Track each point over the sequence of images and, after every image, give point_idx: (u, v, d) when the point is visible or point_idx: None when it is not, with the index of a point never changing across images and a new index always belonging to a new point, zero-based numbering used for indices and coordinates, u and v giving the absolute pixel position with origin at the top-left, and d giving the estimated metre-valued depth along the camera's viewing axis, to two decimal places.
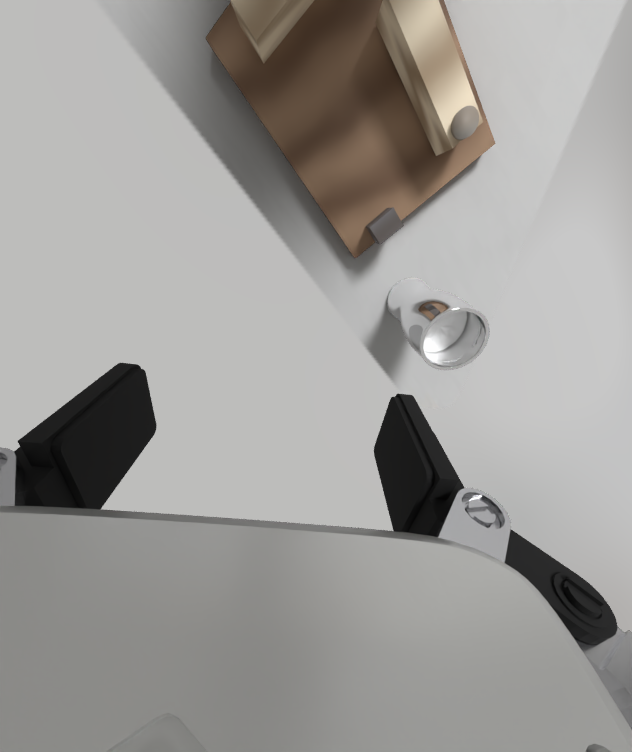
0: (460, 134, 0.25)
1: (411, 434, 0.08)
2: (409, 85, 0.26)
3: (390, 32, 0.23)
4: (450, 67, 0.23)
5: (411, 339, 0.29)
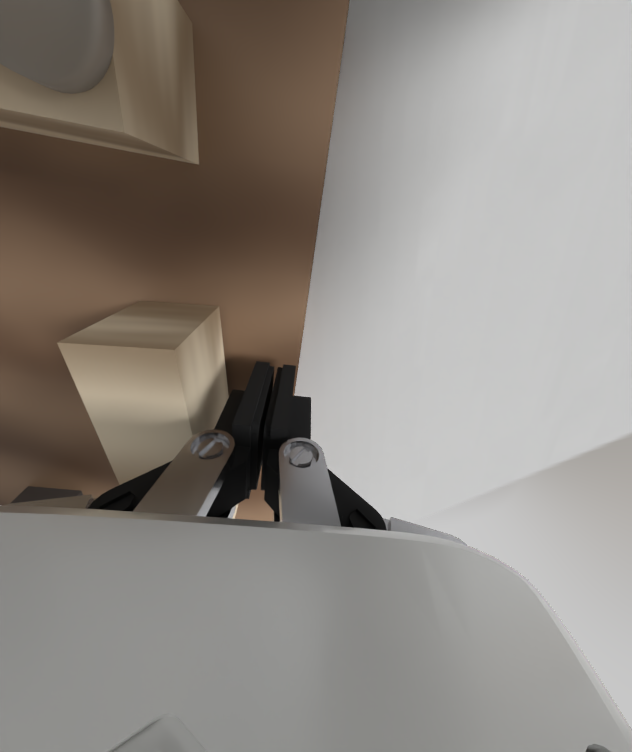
0: None
1: (272, 395, 0.09)
2: None
3: None
4: None
5: None
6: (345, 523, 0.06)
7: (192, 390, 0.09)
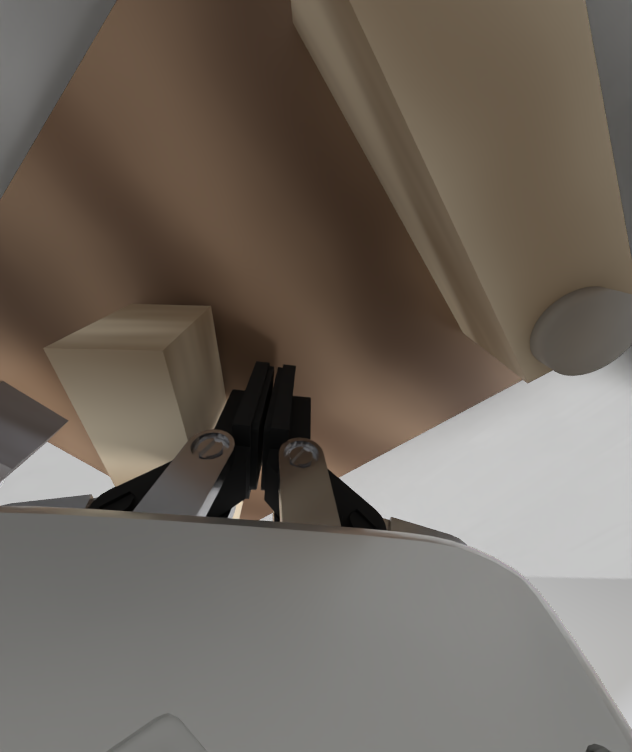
0: None
1: (272, 395, 0.09)
2: None
3: None
4: None
5: None
6: (345, 523, 0.06)
7: (184, 392, 0.08)
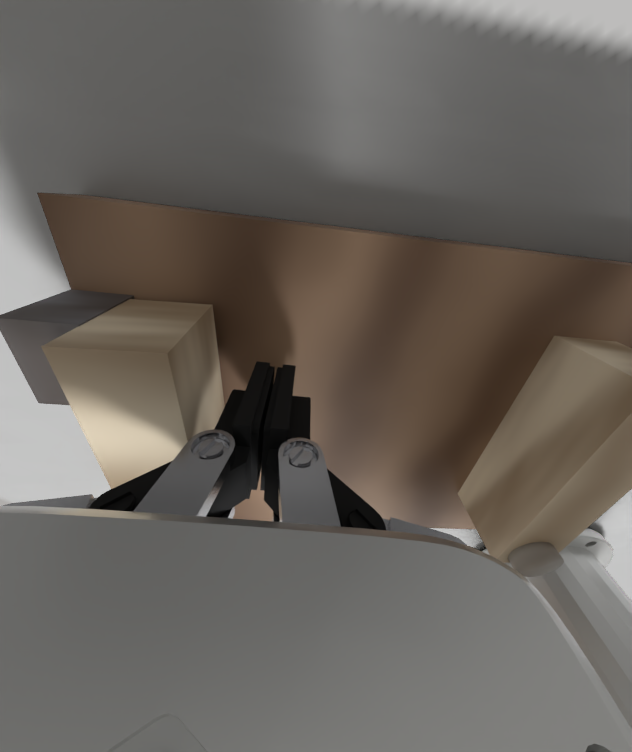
0: None
1: (272, 395, 0.09)
2: None
3: None
4: None
5: None
6: (344, 523, 0.06)
7: (186, 394, 0.08)
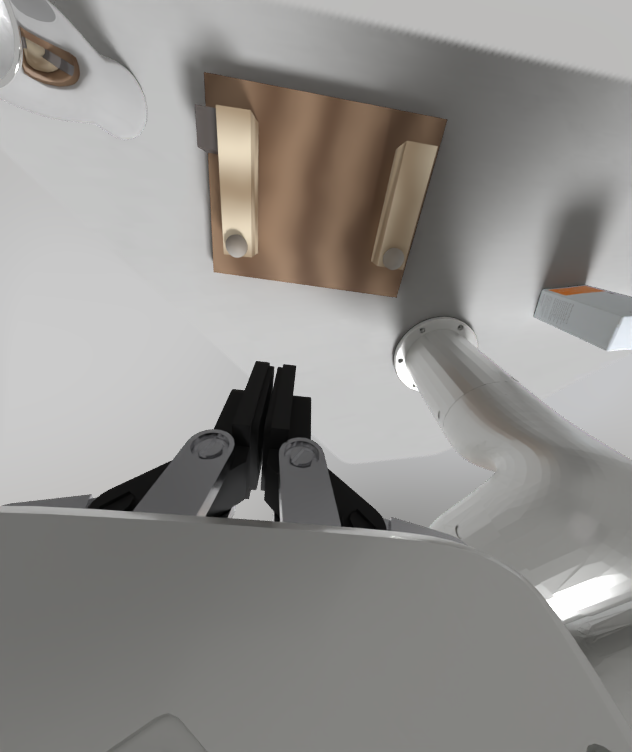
0: (229, 250, 0.29)
1: (272, 395, 0.09)
2: None
3: None
4: (242, 201, 0.27)
5: None
6: (345, 523, 0.06)
7: (251, 136, 0.25)
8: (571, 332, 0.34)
